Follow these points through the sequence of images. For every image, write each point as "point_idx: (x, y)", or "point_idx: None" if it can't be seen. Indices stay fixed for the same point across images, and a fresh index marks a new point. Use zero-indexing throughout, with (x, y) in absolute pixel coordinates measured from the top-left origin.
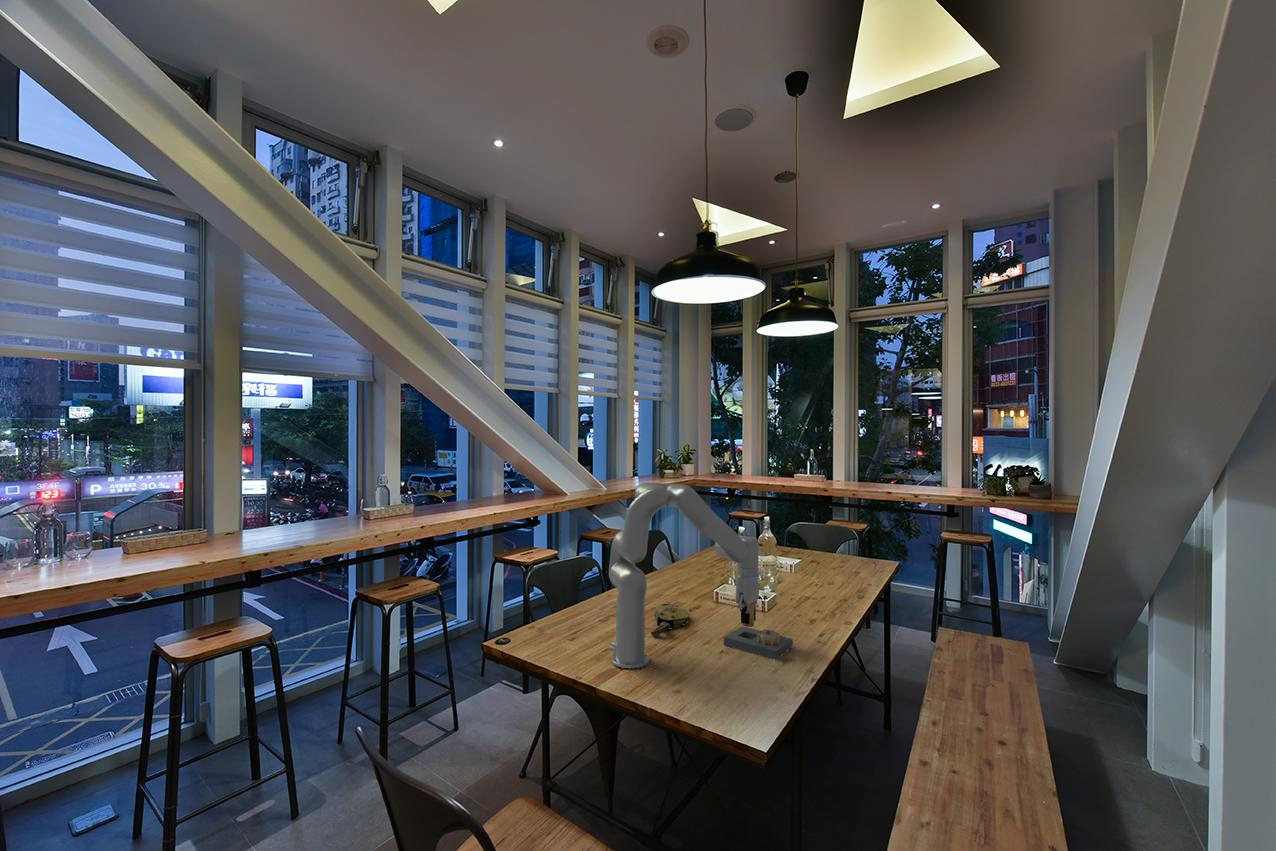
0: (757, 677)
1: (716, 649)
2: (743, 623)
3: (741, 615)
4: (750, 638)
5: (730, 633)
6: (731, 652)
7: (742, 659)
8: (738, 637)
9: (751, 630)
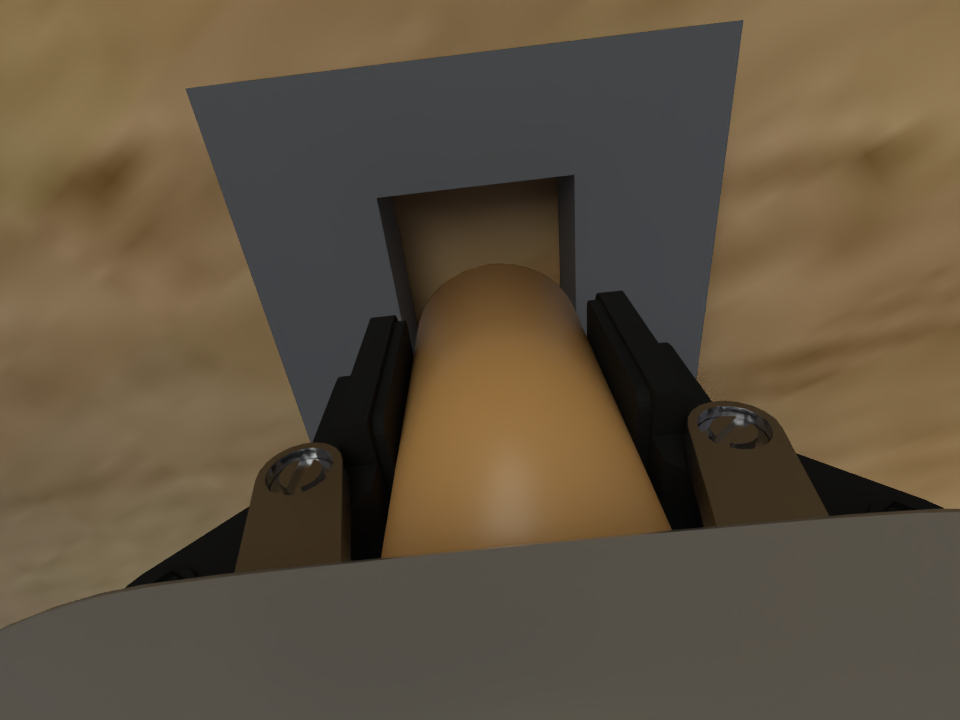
0: (79, 577)
1: (74, 98)
2: (425, 317)
3: (352, 391)
4: (562, 235)
5: (363, 78)
6: (180, 262)
7: (170, 401)
8: (342, 242)
9: (655, 219)
